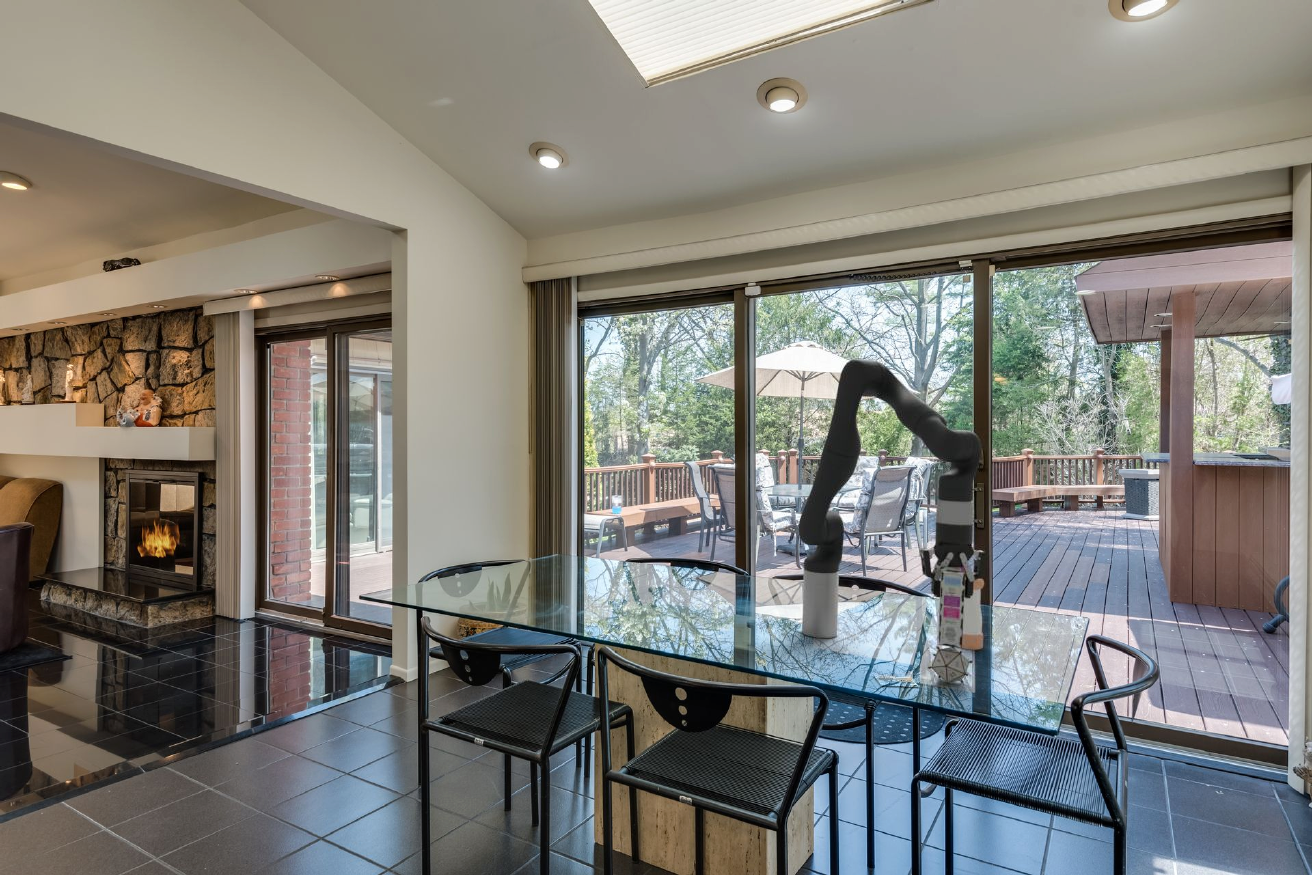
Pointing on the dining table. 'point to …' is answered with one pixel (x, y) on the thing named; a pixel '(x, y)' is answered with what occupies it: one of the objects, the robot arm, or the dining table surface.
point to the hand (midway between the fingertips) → (951, 596)
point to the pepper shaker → (973, 619)
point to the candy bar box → (951, 606)
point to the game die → (950, 665)
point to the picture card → (896, 679)
